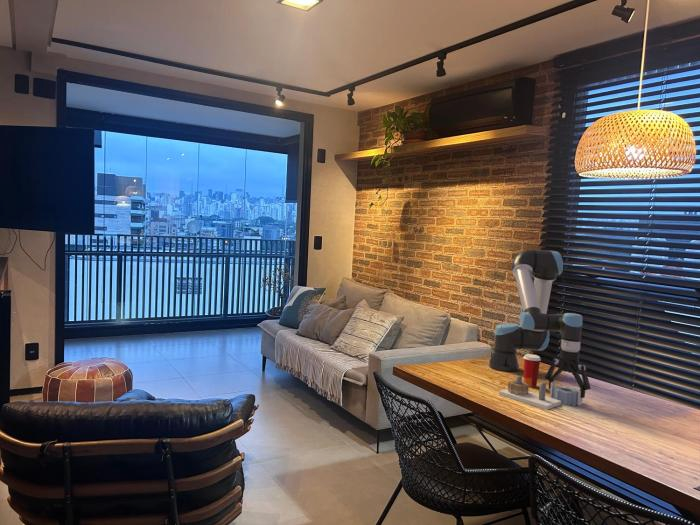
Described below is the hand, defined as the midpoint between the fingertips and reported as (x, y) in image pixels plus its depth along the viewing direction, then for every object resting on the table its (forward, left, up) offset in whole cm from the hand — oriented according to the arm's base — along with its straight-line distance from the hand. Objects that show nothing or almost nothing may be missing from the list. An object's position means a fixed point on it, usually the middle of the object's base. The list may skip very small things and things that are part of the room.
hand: (565, 400), depth 217 cm
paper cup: (-8, -21, 0) cm, 23 cm away
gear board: (+12, -10, 0) cm, 16 cm away
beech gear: (+12, -15, +1) cm, 20 cm away
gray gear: (0, 0, 0) cm, 0 cm away
